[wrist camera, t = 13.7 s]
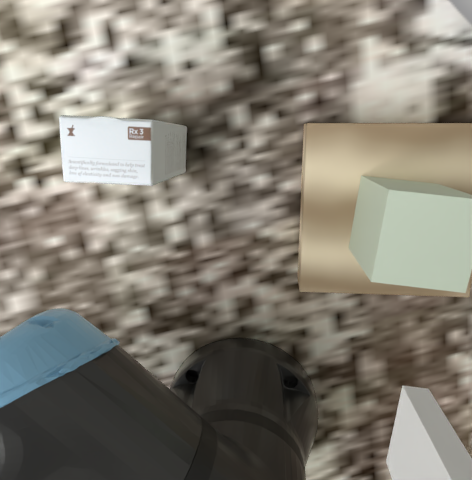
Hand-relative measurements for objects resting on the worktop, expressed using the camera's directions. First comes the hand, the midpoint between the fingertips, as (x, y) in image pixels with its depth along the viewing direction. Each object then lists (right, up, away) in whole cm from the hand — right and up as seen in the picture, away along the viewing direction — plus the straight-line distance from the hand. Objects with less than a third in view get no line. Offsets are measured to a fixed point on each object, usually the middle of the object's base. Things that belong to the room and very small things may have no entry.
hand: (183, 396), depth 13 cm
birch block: (+14, +8, +25) cm, 30 cm away
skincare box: (-5, +13, +25) cm, 29 cm away
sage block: (+14, +7, +21) cm, 26 cm away
